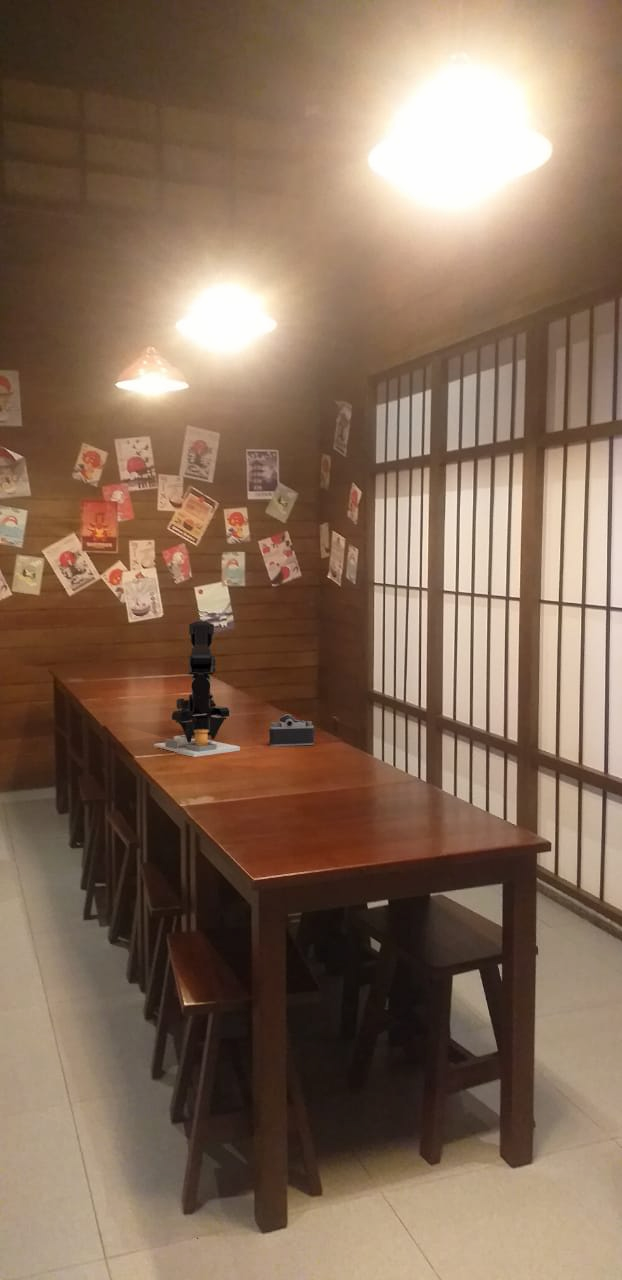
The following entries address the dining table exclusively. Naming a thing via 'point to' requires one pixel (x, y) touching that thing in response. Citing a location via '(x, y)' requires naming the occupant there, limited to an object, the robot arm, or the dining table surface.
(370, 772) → the dining table surface
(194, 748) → the board
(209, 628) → the robot arm
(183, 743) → the block
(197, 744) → the cap
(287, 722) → the camera
